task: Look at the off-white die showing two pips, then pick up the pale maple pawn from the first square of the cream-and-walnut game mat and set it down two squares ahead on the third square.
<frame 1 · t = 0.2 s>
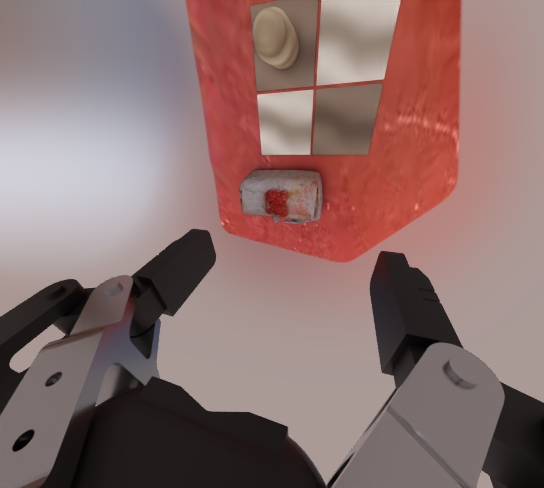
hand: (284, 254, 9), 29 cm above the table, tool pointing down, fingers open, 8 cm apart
pawn: (283, 48, 26), resting on game mat
game mat: (315, 87, 28), on the table
food item: (288, 186, 37), on the table
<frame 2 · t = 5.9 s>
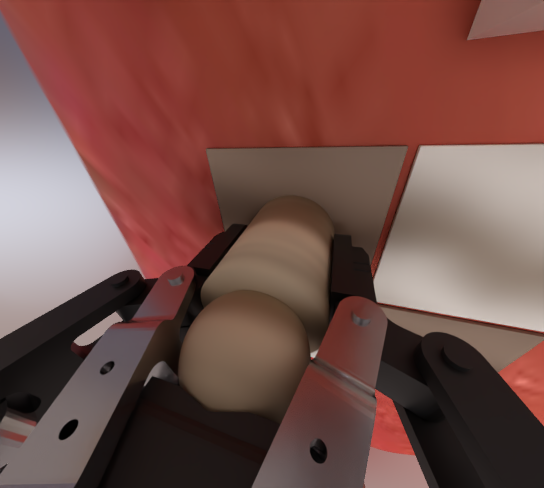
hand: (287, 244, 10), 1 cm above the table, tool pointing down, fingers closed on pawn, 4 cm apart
pawn: (292, 233, 11), resting on game mat, touching gripper
game mat: (362, 299, 12), on the table
when the fingers open (3 cm above the table, at t = 12.5 s): pawn drops 2 cm, resting on game mat.
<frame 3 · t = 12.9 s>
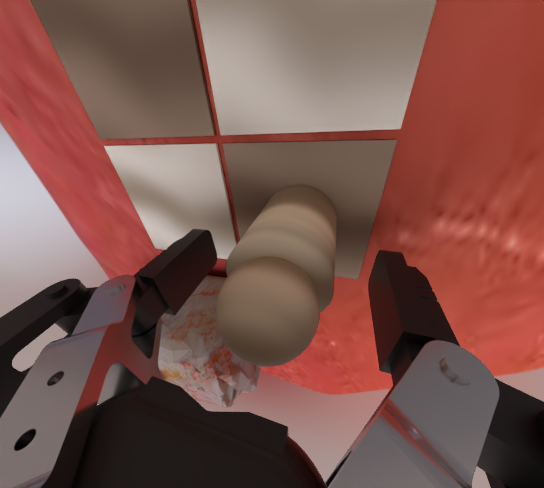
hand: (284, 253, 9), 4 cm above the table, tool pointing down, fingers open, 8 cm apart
pawn: (299, 219, 12), resting on game mat
game mat: (219, 139, 11), on the table
food item: (212, 290, 20), on the table
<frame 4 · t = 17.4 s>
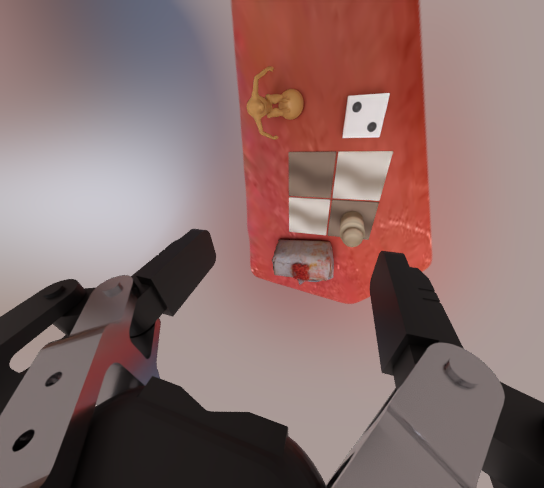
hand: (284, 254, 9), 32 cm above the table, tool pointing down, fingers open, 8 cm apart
figurine: (287, 105, 33), on the table
pawn: (351, 220, 40), resting on game mat
game mat: (331, 198, 39), on the table
food item: (306, 249, 49), on the table
die: (361, 115, 31), on the table
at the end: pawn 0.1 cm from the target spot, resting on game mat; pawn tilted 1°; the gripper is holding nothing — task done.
